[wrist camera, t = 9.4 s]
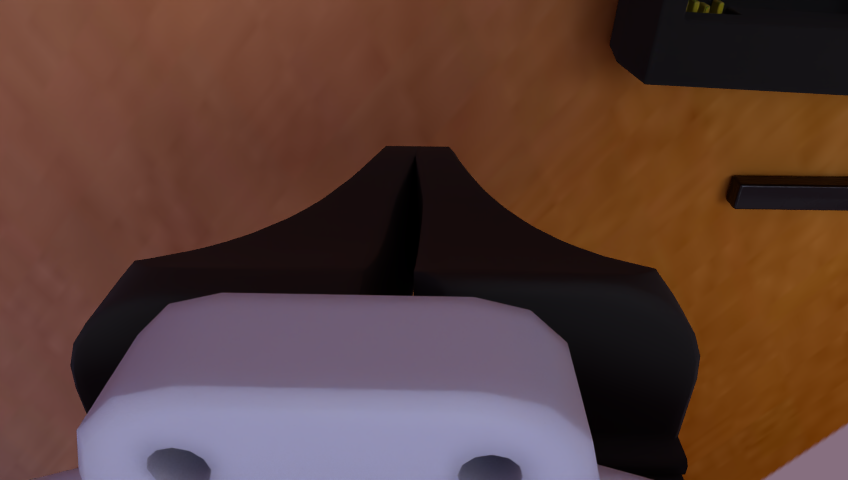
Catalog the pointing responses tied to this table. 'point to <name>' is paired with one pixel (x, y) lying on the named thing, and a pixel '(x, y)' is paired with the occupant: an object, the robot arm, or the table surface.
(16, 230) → the table surface
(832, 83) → the battery charger
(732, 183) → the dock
